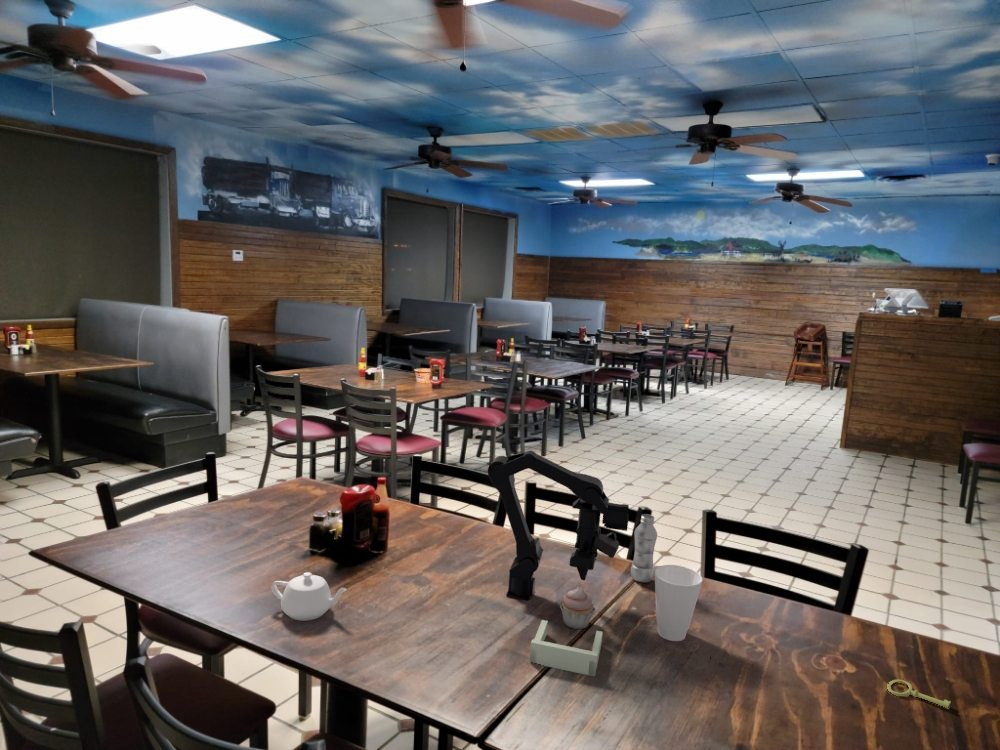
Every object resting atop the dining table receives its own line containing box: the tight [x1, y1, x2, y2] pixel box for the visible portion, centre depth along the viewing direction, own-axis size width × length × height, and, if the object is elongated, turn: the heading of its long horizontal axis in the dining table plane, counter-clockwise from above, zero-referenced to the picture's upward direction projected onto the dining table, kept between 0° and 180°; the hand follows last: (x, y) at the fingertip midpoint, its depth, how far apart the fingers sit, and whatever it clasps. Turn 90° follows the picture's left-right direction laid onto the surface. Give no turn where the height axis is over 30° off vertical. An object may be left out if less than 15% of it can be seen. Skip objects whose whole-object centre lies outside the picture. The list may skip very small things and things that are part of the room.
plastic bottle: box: [630, 513, 658, 584], centre depth 197 cm, size 6×7×20 cm
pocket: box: [529, 619, 603, 677], centre depth 157 cm, size 15×14×5 cm
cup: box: [653, 564, 704, 642], centre depth 168 cm, size 12×12×16 cm
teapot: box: [270, 572, 347, 622], centre depth 167 cm, size 20×12×10 cm, turn 79°
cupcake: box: [558, 586, 597, 630], centre depth 171 cm, size 9×9×10 cm
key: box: [886, 679, 951, 710], centre depth 151 cm, size 7×12×2 cm, turn 63°
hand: (583, 579), depth 181 cm, fingers closed
